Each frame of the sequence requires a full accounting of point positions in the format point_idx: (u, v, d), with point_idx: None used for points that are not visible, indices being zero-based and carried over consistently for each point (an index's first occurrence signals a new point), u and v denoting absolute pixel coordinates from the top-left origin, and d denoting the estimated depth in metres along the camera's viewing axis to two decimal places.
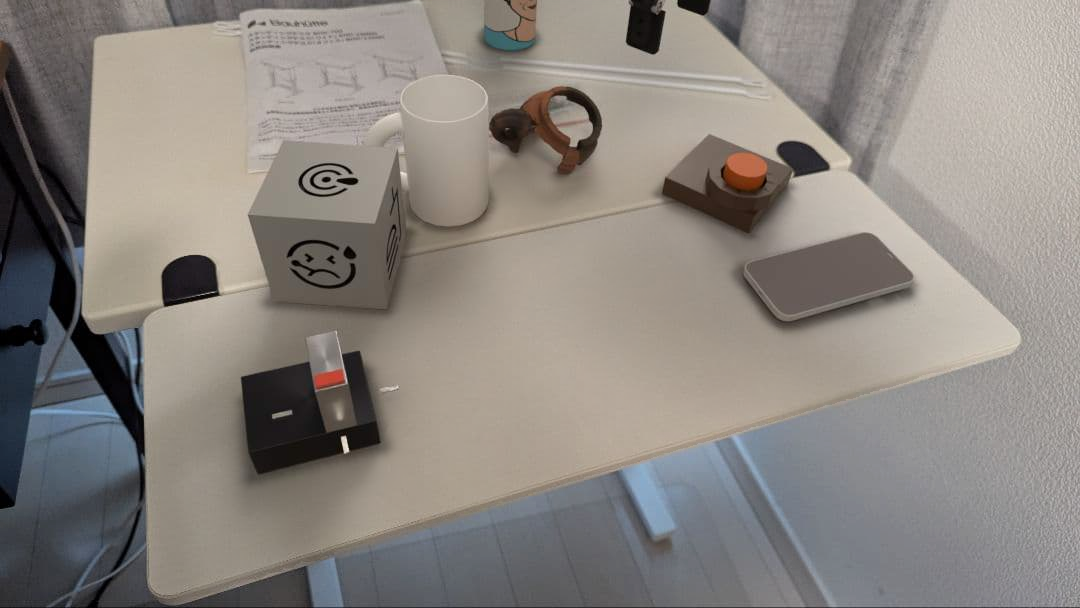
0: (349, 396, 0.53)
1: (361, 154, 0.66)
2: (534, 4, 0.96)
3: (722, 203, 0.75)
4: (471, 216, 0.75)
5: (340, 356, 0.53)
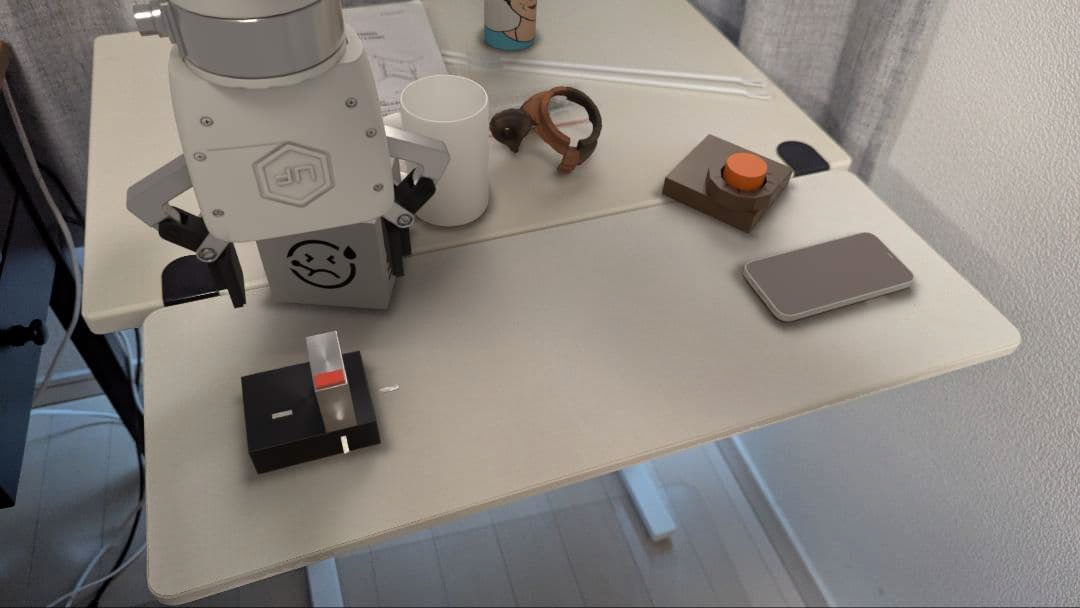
0: (349, 396, 0.53)
1: None
2: (534, 4, 0.96)
3: (722, 203, 0.75)
4: (471, 216, 0.75)
5: (340, 356, 0.53)
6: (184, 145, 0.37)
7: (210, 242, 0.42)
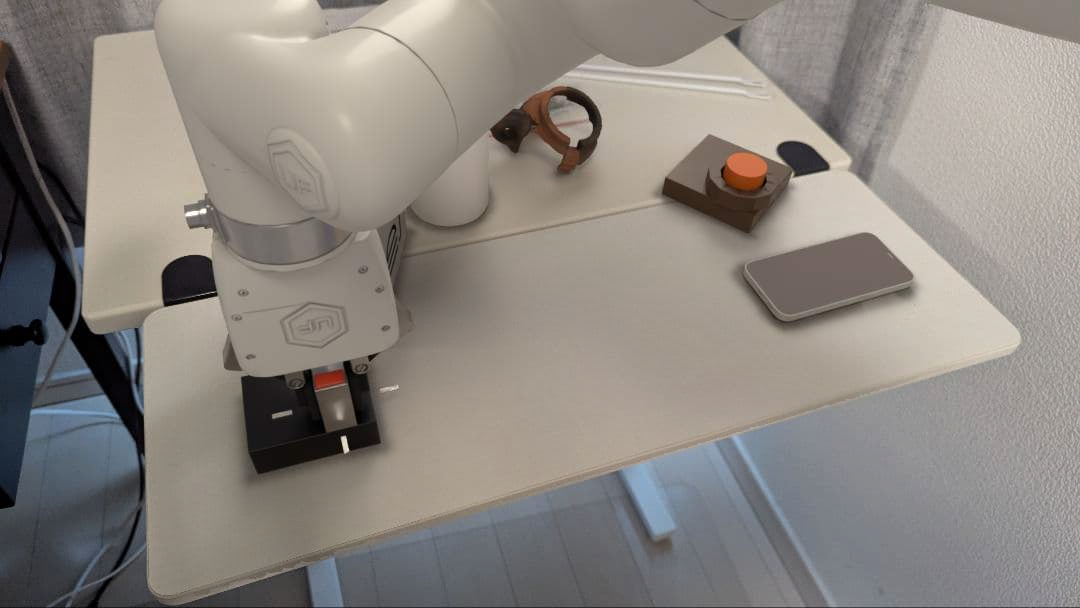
0: (349, 396, 0.53)
1: None
2: None
3: (722, 203, 0.75)
4: (471, 216, 0.75)
5: None
6: (224, 309, 0.44)
7: (290, 376, 0.51)
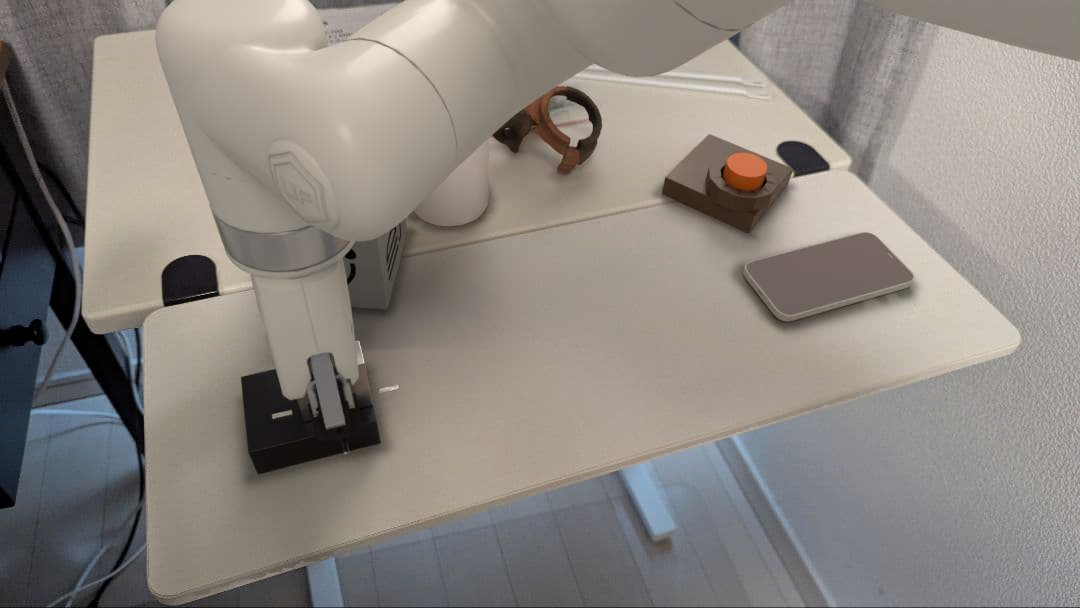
0: None
1: None
2: None
3: (722, 203, 0.75)
4: (471, 216, 0.75)
5: None
6: None
7: None
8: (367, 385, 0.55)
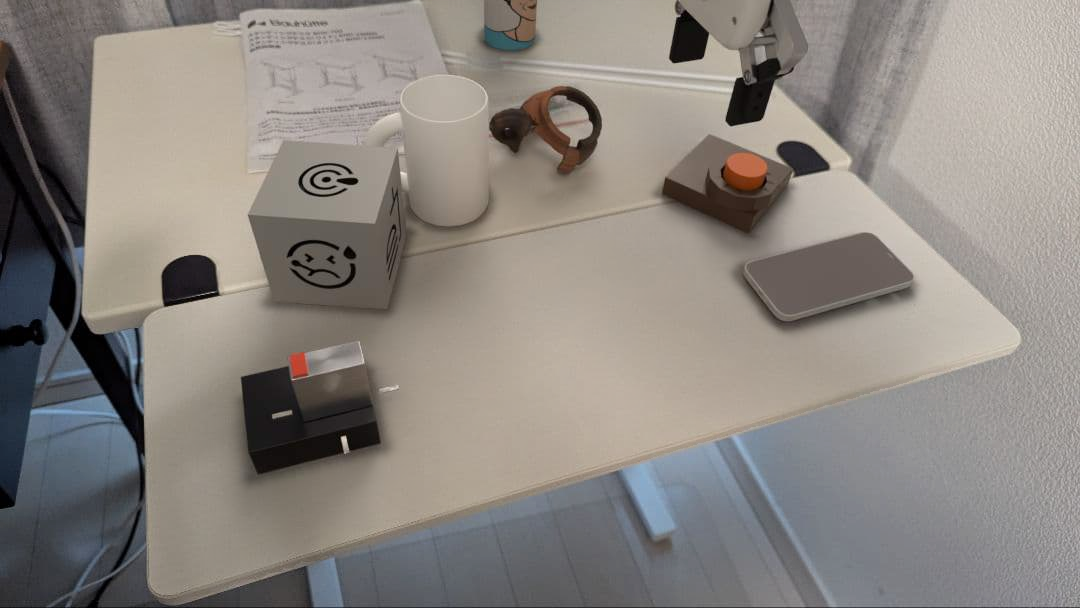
0: None
1: (361, 154, 0.66)
2: (534, 4, 0.96)
3: (722, 203, 0.75)
4: (471, 216, 0.75)
5: (328, 370, 0.52)
6: None
7: None
8: (367, 385, 0.55)
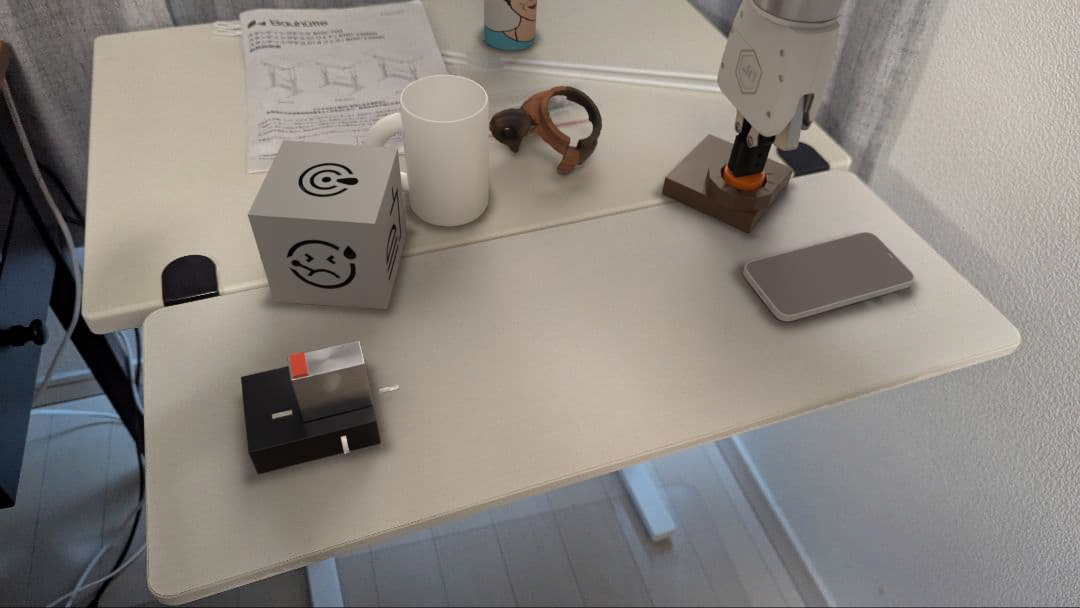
0: None
1: (361, 154, 0.66)
2: (534, 4, 0.96)
3: (722, 203, 0.75)
4: (471, 216, 0.75)
5: (328, 370, 0.52)
6: None
7: (737, 117, 0.73)
8: (367, 385, 0.55)
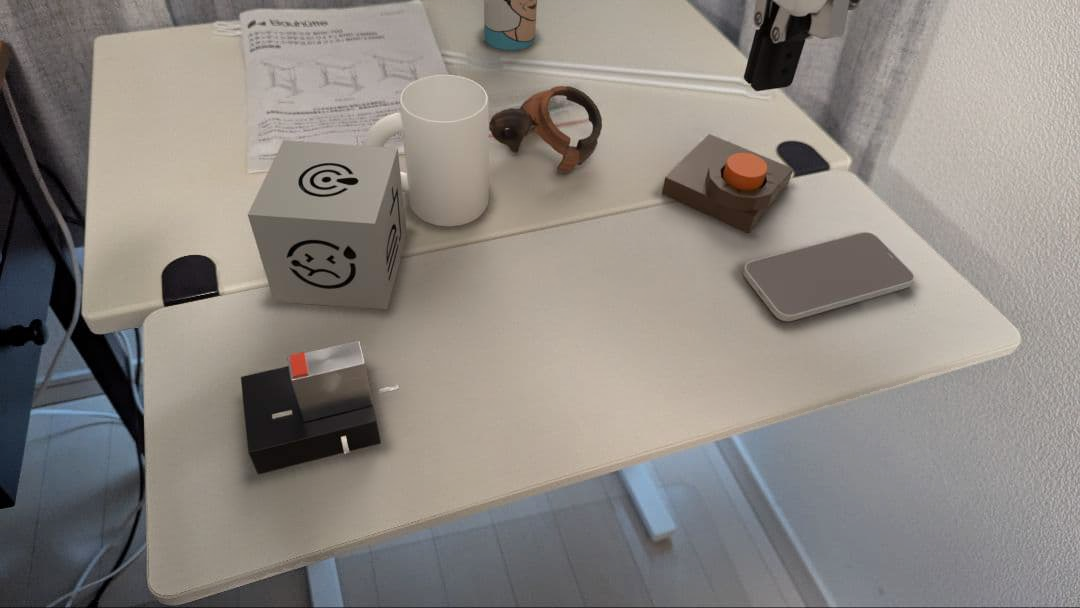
0: None
1: (361, 154, 0.66)
2: (534, 4, 0.96)
3: (722, 203, 0.75)
4: (471, 216, 0.75)
5: (328, 370, 0.52)
6: None
7: (758, 4, 0.53)
8: (367, 385, 0.55)
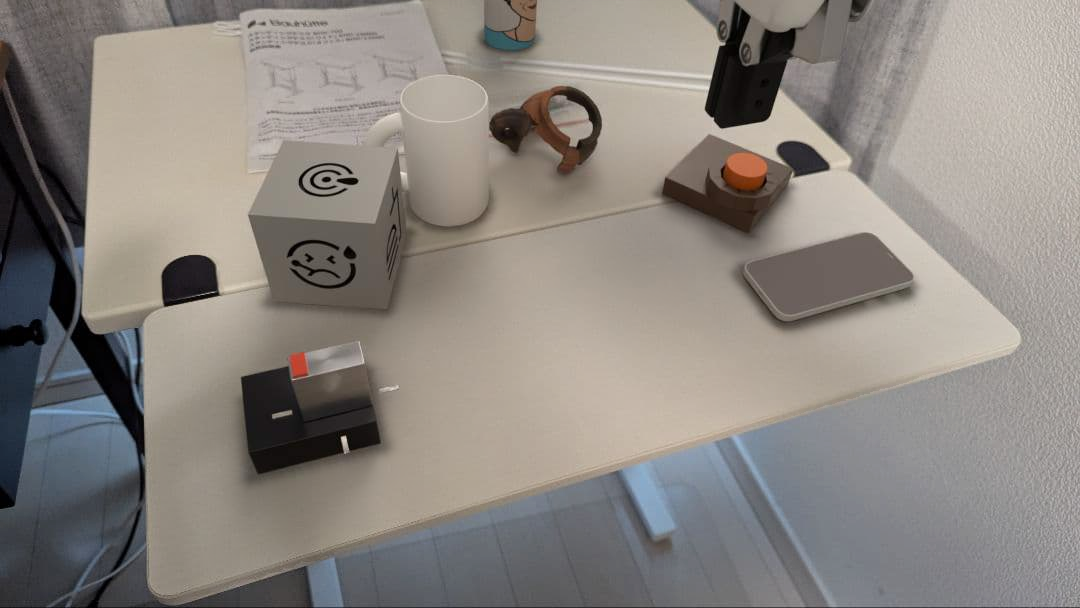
0: None
1: (361, 154, 0.66)
2: (534, 4, 0.96)
3: (722, 203, 0.75)
4: (471, 216, 0.75)
5: (328, 370, 0.52)
6: None
7: (722, 11, 0.38)
8: (367, 385, 0.55)
